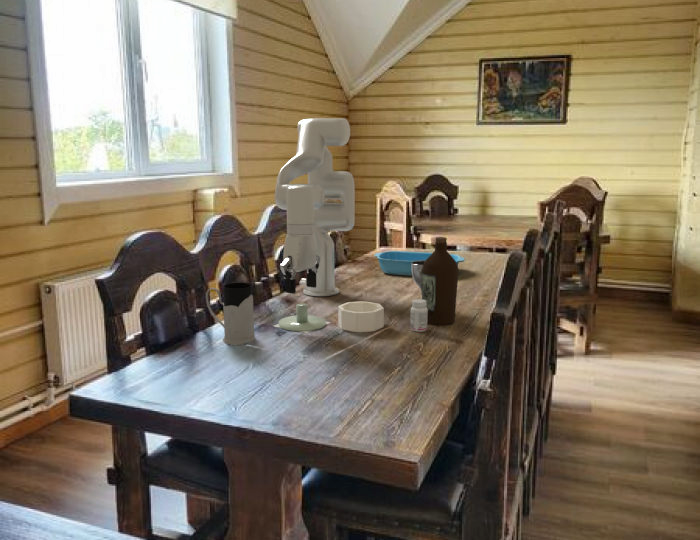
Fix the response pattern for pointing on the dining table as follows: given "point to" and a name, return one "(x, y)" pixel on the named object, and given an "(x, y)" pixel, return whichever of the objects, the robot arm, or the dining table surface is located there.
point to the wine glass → (417, 273)
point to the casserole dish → (404, 261)
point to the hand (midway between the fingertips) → (301, 289)
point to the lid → (302, 320)
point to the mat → (301, 331)
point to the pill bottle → (418, 315)
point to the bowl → (360, 316)
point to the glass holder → (236, 313)
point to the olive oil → (440, 284)
